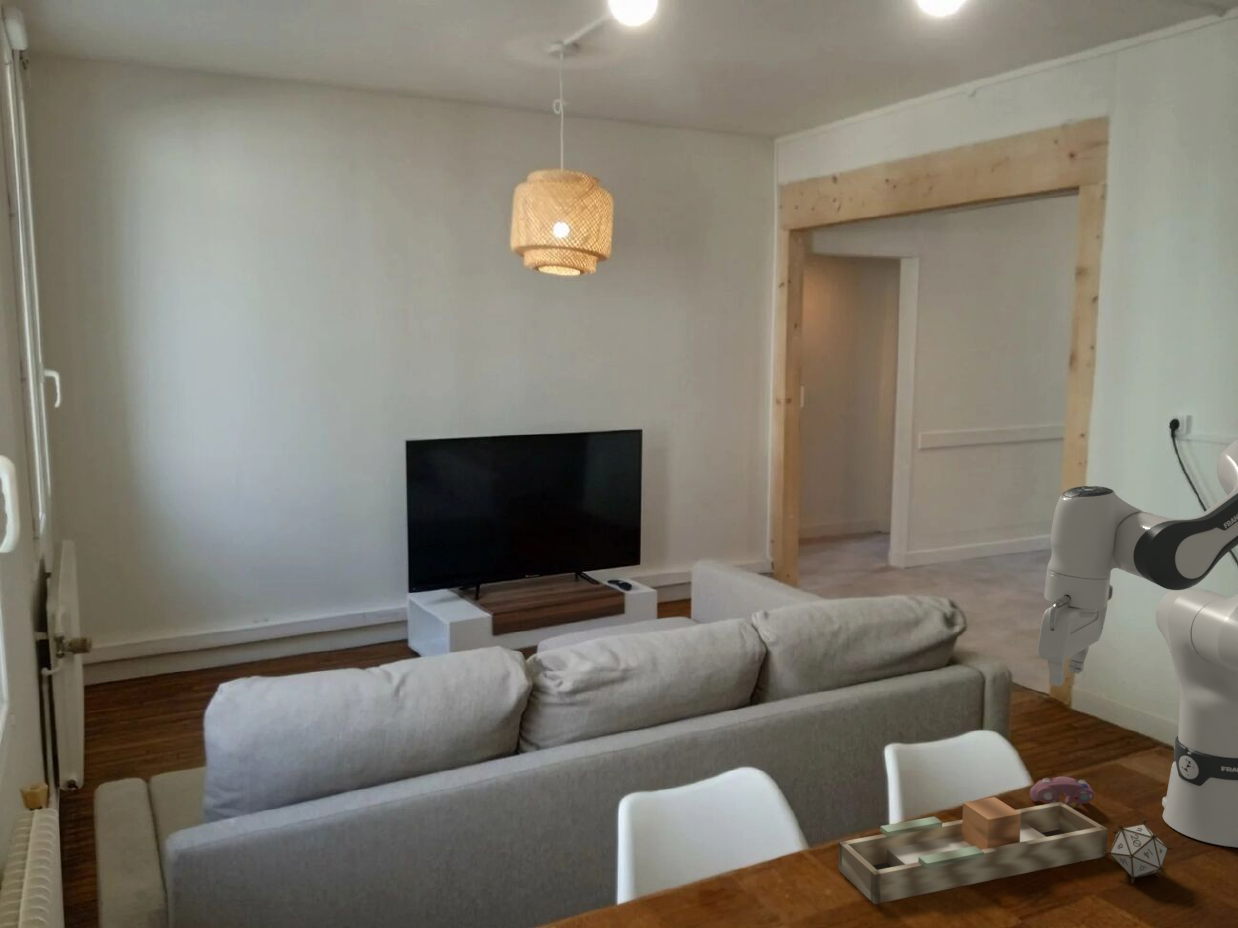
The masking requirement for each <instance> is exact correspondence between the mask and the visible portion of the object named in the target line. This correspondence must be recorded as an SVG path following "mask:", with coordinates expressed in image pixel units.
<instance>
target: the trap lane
mask: <svg viewBox="0 0 1238 928" xmlns="http://www.w3.org/2000/svg"><path fill="white" fill-rule="evenodd" d="M1015 810H1016V811H1018V812H1019V813H1021V823H1020V842H1019V843H1014V844H1008V845H1003V846H998V847H993V848H988V849H983V850H980V849H979V848H978V847H976V846H971V845H970V844H968V843H967V842H966V841H964V840H963V839H962V819H959V820H953V821H947V822H943V821H941V819H939V818H938V817H936V816H929V817H924V818H923V817H922V818H918V819H911V820H906V821H902V822H896V823H891V824H885V825H880V828H879V829H880V830H879V832H881V834H876V835H872V836H865V837H859V838H853V839H848V840H844V841H838V862H837V864H838V871H839V873H841V874H842V875H843V876H844V877H845V878H846V879H847V880H849V882H850V883H852V885H854V886H855V887H856V888H857V889H858V890H859V891H860V893H862V894H863V895H864V896H865V897H866V898H867V899H868V900H870V902H871V903H872V904H873V905H877V904H882V903H886V902H892V901H896V900H901V899H906V898H910V897H917V896H922V895H925V894H930V893H935V892H941V891H945V890H949V889H955V888H960V887H964V886H970V885H974V884H978V883H983V882H989V881H992V880H997V879H999V880H1000V879H1003V878H1008V877H1012V876H1017V875H1018V876H1019V875H1022V874H1027V873H1031V872H1032V873H1033V872H1037V871H1042V870H1048V869H1050V868H1056V867H1060V866H1061V867H1062V866H1066V865H1070V864H1075V863H1080V861H1081V862H1085V861H1090V860H1093V859H1094V860H1095V859H1100V858H1104V857H1107V855H1105V854H1103V853H1104V852H1105V851H1106V852H1107V851H1108V850H1107V849H1108V832H1109V831H1108V828H1107V827H1105V826H1103V825H1101V824H1100V823H1098V822H1097V821H1094V820H1093V819H1091V818H1089V817H1088V816H1086V815H1084V814H1083V813H1081V812H1080V811H1077V810H1076V809H1075V808H1071V807H1069V806H1067V805H1066V803H1065V802H1064V803H1063V802H1062V801H1060V802H1056V803H1051V804H1047V803H1046V804H1040V805H1035V806H1031V807H1025V808H1019V809H1015Z"/></svg>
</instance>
